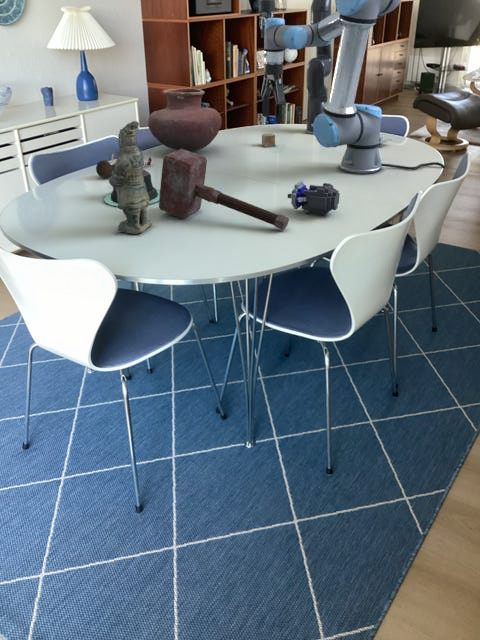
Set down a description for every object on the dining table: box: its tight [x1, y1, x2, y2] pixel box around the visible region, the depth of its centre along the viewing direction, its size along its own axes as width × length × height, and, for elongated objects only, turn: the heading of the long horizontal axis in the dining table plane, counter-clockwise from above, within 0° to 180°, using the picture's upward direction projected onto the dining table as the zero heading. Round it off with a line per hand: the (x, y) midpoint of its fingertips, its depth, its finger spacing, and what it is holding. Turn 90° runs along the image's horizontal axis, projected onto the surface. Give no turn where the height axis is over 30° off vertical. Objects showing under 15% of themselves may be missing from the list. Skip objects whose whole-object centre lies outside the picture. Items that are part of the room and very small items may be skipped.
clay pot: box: [147, 87, 223, 153], centre depth 235 cm, size 30×30×25 cm
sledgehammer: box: [158, 149, 290, 231], centre depth 163 cm, size 17×10×40 cm
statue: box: [108, 120, 153, 235], centre depth 154 cm, size 11×9×30 cm
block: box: [261, 133, 276, 148], centre depth 246 cm, size 5×4×5 cm
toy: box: [287, 180, 341, 216], centre depth 168 cm, size 9×9×15 cm
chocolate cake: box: [103, 168, 160, 207], centre depth 186 cm, size 15×19×20 cm
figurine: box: [95, 153, 153, 179], centre depth 214 cm, size 13×8×25 cm
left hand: (266, 38), depth 270 cm, fingers open, 8 cm apart
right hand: (272, 119), depth 228 cm, fingers open, 13 cm apart
